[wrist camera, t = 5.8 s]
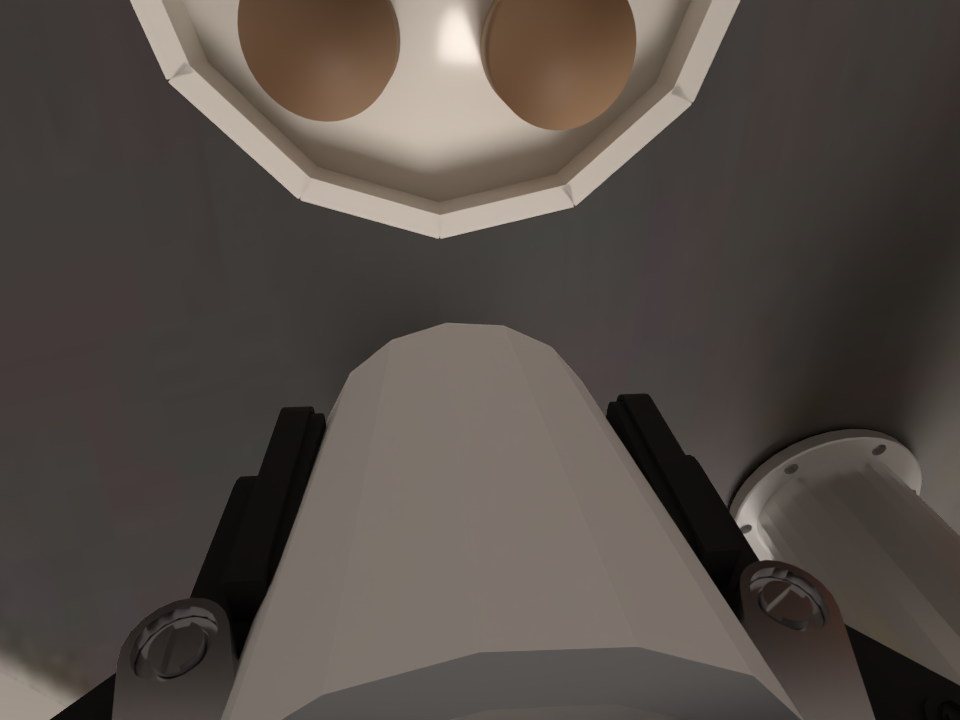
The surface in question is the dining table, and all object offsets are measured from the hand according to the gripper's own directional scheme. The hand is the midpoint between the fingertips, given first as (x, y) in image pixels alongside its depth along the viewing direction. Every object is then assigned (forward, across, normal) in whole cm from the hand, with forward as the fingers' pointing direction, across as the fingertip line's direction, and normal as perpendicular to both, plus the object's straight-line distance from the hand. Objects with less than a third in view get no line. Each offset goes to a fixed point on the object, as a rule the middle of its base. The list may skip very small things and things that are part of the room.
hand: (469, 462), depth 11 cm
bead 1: (+17, +4, -7) cm, 19 cm away
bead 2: (+17, -4, -7) cm, 19 cm away
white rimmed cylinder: (+1, 0, 0) cm, 1 cm away
